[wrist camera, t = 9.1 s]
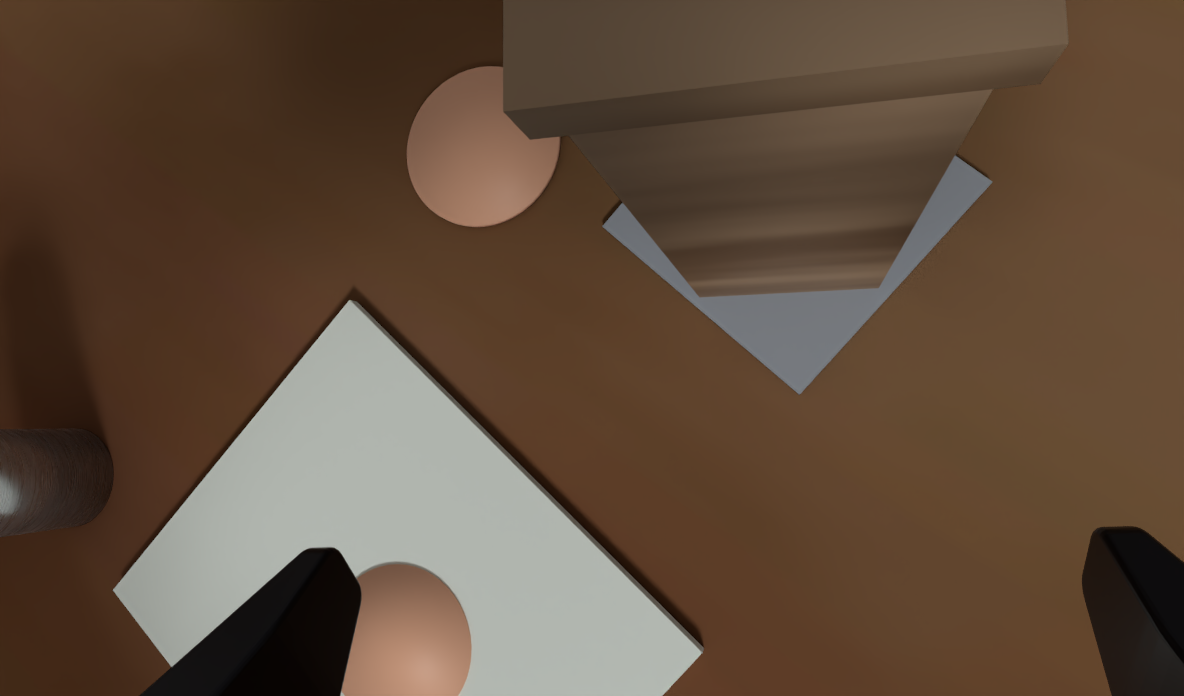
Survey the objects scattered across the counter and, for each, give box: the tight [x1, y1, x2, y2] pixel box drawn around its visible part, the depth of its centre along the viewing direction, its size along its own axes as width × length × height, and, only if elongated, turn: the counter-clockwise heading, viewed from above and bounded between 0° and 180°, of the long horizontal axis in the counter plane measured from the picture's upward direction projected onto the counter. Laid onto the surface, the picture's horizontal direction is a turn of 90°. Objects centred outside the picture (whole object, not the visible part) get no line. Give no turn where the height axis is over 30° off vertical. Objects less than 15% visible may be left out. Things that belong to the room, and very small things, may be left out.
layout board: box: [113, 66, 992, 696], centre depth 22 cm, size 26×16×1 cm, turn 138°
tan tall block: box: [503, 0, 1069, 297], centre depth 14 cm, size 5×5×14 cm
